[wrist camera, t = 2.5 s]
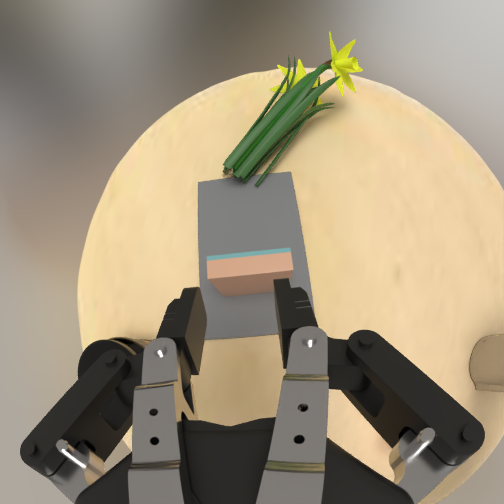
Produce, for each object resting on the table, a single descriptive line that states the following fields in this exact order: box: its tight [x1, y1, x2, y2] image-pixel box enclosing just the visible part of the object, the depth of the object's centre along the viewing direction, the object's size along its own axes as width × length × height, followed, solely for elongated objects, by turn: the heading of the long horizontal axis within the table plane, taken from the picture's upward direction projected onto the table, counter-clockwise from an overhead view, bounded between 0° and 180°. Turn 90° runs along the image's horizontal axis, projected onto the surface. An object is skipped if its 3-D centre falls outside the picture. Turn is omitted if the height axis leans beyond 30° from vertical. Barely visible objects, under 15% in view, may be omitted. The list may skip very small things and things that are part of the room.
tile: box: [207, 248, 293, 297], centre depth 34 cm, size 2×9×11 cm, turn 95°
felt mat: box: [198, 172, 315, 340], centre depth 41 cm, size 26×16×1 cm, turn 5°
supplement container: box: [78, 337, 151, 414], centre depth 30 cm, size 10×10×12 cm
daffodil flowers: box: [223, 32, 363, 186], centre depth 42 cm, size 17×15×35 cm
